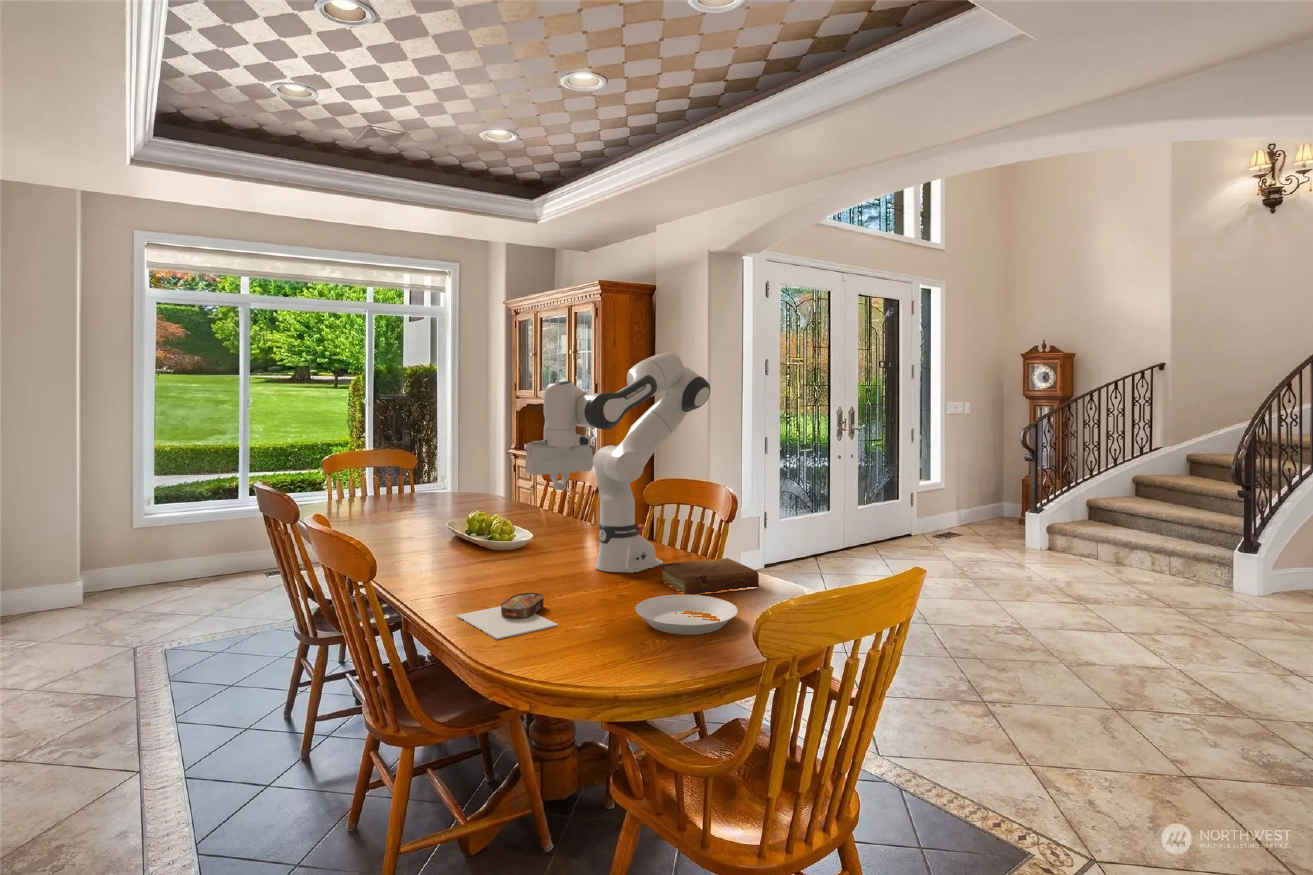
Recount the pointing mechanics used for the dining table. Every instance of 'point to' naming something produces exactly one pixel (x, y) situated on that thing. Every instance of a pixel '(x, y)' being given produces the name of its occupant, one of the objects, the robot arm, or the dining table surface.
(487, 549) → the dining table surface
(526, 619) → the mat
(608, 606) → the dining table surface
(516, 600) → the tin
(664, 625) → the bowl
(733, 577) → the diary
